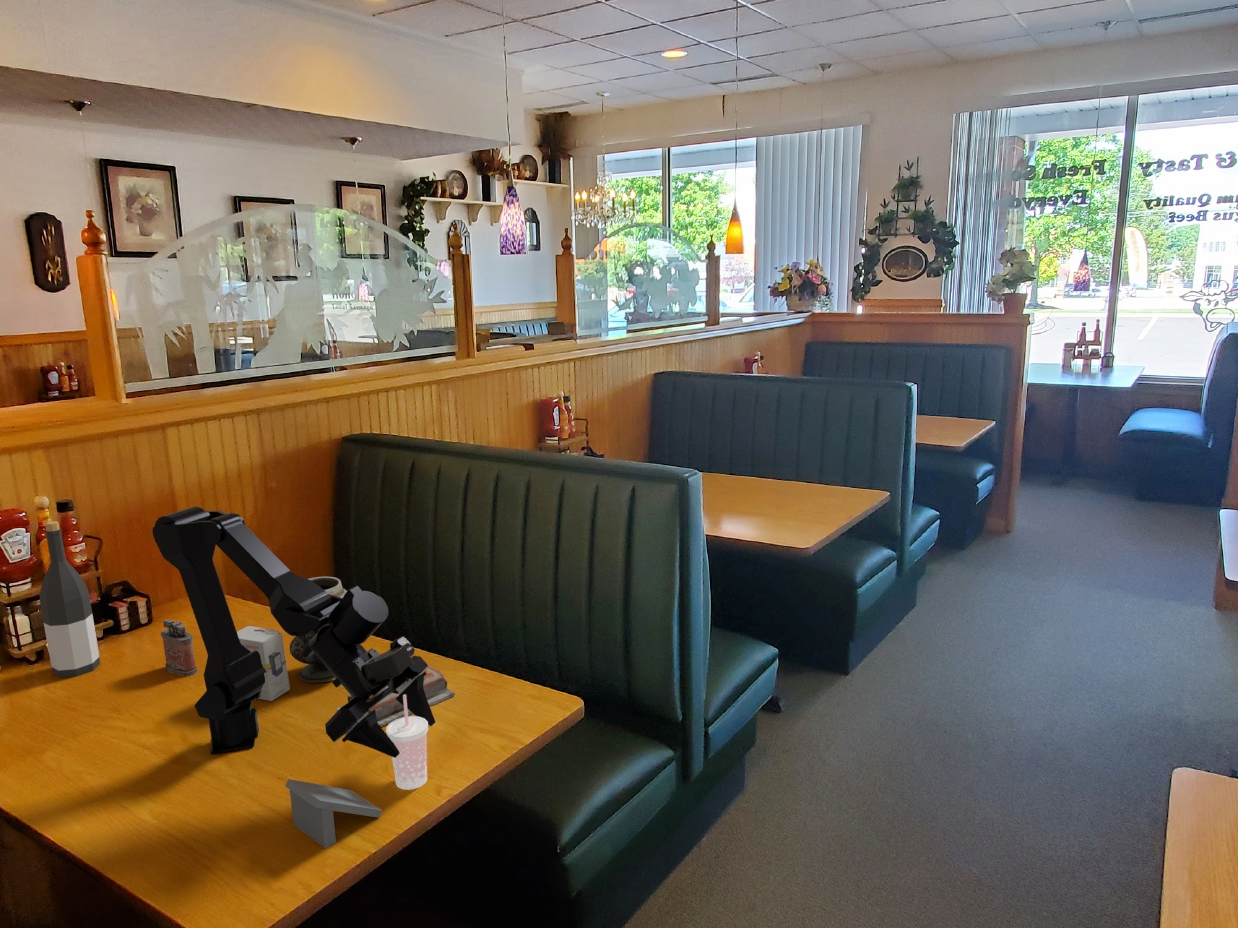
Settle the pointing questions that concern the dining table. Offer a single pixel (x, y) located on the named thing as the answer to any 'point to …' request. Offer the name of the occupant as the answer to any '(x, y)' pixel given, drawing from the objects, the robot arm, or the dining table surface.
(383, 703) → the packaged product
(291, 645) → the apothecary jar
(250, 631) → the ink box
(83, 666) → the wine bottle
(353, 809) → the ramp
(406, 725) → the beverage cup
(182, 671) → the lighter
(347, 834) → the dining table surface
